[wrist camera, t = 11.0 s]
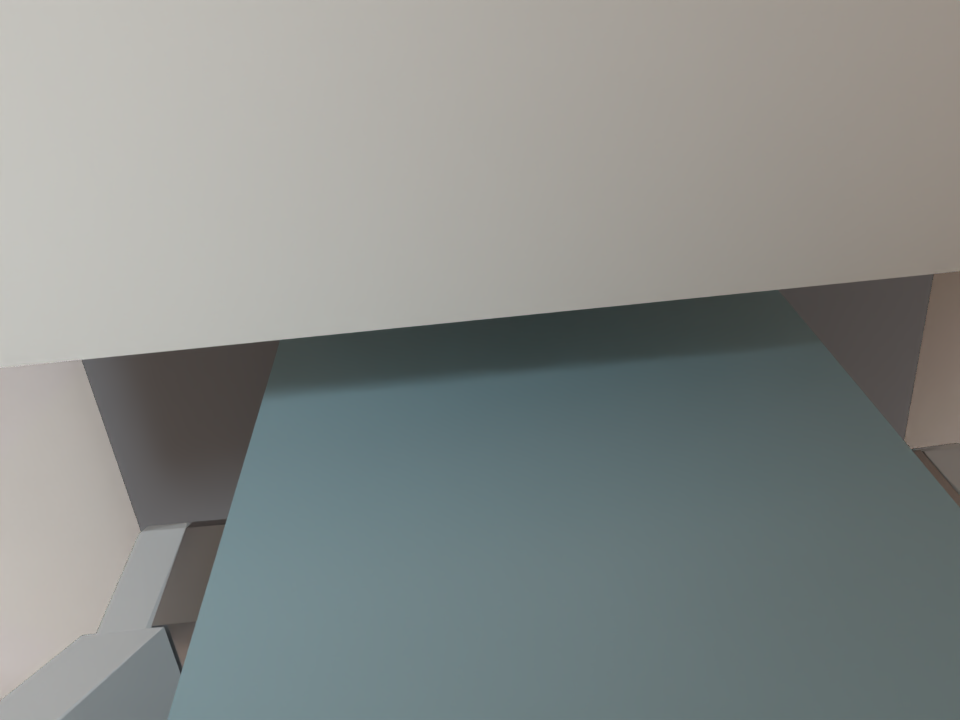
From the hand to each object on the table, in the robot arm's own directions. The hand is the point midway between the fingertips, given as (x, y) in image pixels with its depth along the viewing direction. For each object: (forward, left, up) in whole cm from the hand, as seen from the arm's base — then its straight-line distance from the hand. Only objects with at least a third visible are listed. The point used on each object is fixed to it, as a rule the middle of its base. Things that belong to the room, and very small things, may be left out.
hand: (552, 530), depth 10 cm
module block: (0, 0, -3) cm, 3 cm away
